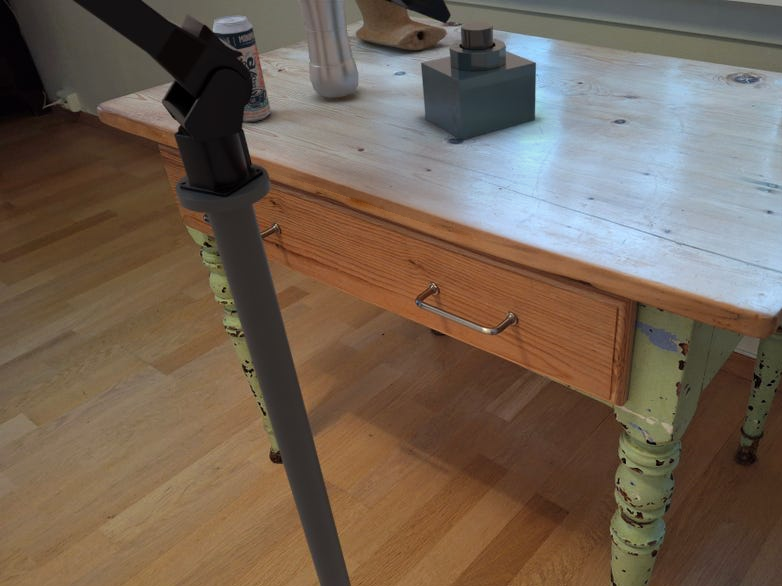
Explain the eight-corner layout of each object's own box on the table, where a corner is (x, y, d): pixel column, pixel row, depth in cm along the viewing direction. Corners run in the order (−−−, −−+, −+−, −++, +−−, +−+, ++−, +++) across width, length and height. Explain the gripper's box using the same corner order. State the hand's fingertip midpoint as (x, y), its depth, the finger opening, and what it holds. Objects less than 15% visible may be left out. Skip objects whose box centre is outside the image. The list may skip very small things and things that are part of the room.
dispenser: (461, 140, 85) (458, 62, 79) (425, 119, 91) (419, 45, 85) (535, 119, 89) (536, 45, 83) (495, 100, 95) (494, 29, 89)
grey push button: (472, 55, 82) (471, 31, 81) (455, 48, 85) (454, 25, 83) (499, 49, 84) (499, 26, 82) (482, 42, 86) (481, 20, 85)
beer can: (245, 126, 91) (220, 26, 83) (228, 117, 93) (203, 19, 86) (278, 116, 93) (257, 18, 85) (261, 107, 96) (239, 12, 88)
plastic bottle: (357, 102, 96) (333, -66, 84) (308, 103, 97) (277, -65, 84) (364, 87, 101) (342, -74, 89) (317, 88, 102) (289, -72, 89)
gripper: (418, -170, 60) (520, -40, 72) (330, -172, 73) (429, -61, 84) (347, -54, 62) (458, 55, 73) (273, -76, 74) (378, 21, 86)
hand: (430, 13), depth 79 cm, fingers open, 7 cm apart
